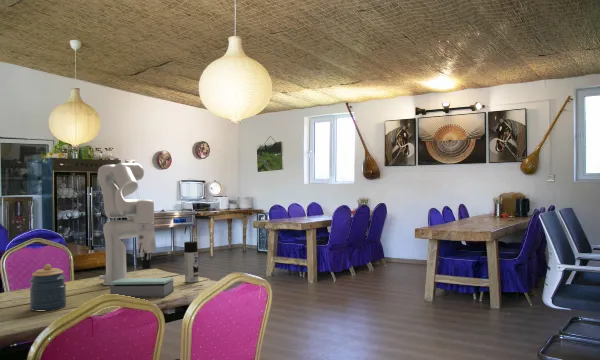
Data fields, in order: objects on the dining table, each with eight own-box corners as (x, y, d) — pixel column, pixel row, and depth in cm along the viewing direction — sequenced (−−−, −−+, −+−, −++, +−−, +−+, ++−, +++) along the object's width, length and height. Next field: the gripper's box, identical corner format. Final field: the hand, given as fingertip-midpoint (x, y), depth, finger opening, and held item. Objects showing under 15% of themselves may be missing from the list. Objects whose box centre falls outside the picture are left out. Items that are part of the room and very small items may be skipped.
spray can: (195, 283, 232) (194, 242, 232) (182, 282, 233) (181, 242, 234) (200, 280, 239) (200, 241, 239) (188, 280, 240) (187, 241, 240)
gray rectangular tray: (110, 298, 204) (110, 286, 204) (122, 291, 215) (122, 280, 216) (164, 297, 202) (164, 285, 202) (173, 291, 214) (173, 280, 214)
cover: (110, 284, 204) (110, 282, 204) (122, 280, 216) (122, 278, 216) (164, 283, 202) (164, 281, 202) (173, 280, 214) (173, 277, 214)
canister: (27, 313, 180) (27, 267, 180) (32, 306, 192) (31, 263, 192) (65, 309, 185) (64, 264, 186) (67, 302, 197) (66, 260, 197)
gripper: (146, 228, 201) (147, 271, 201) (160, 225, 216) (161, 265, 216) (130, 228, 202) (131, 271, 201) (144, 226, 217) (145, 266, 216)
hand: (146, 268), depth 209 cm, fingers closed
